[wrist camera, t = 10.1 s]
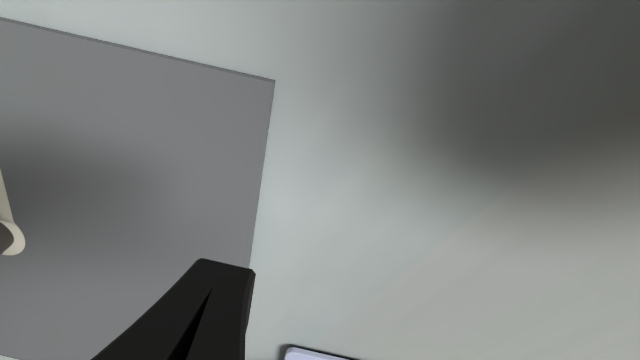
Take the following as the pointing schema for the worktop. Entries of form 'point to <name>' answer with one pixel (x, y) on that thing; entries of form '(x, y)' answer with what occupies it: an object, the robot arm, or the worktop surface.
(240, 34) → the worktop surface
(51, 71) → the card
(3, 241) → the walnut fence section
